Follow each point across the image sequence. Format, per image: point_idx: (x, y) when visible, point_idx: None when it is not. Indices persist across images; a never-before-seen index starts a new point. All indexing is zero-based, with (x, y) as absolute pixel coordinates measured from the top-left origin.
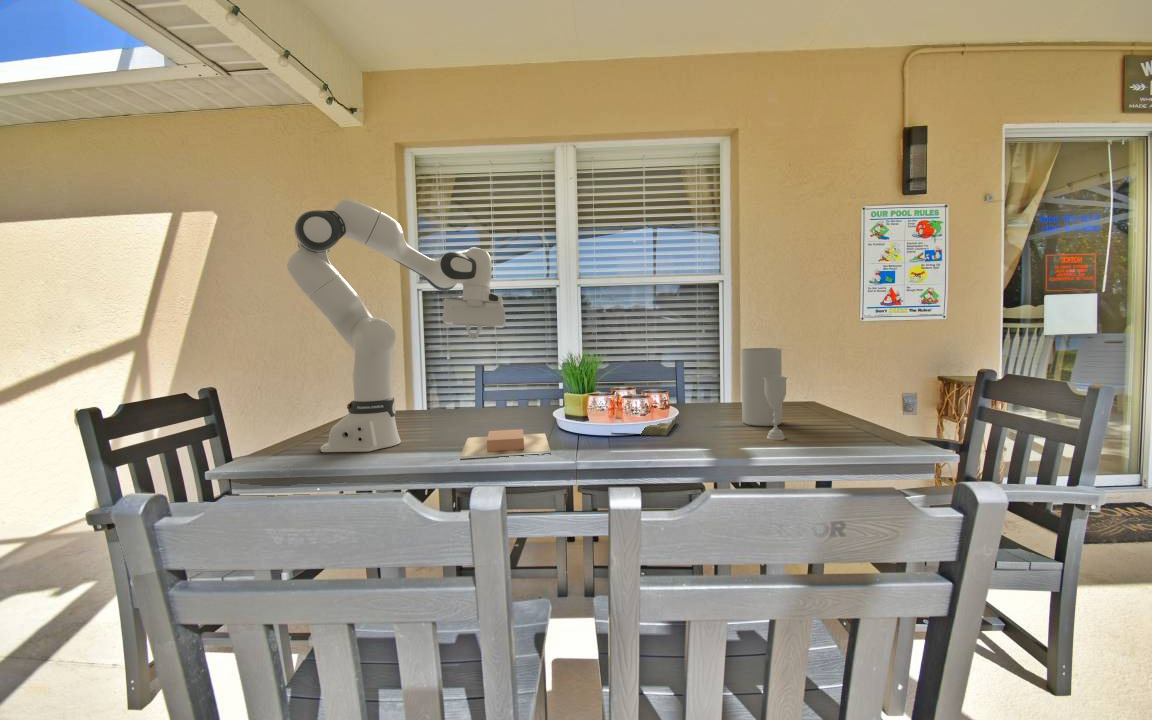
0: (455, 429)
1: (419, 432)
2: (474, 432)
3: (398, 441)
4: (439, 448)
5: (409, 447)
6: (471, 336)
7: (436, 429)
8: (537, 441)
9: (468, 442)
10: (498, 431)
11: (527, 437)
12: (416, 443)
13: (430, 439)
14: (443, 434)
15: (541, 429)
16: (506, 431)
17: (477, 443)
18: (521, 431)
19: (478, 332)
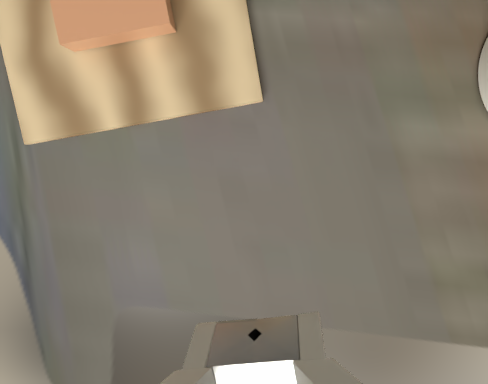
0: (354, 289)
1: (467, 253)
2: (275, 232)
3: (483, 68)
4: (325, 3)
5: (427, 25)
6: (276, 327)
7: (422, 296)
8: (25, 22)
9: (242, 28)
10: (135, 12)
11: (68, 84)
12: (423, 81)
13: (394, 137)
14: (373, 211)
15: (61, 255)
16: (107, 9)
17: (209, 10)
18: (55, 3)
19: (165, 379)
